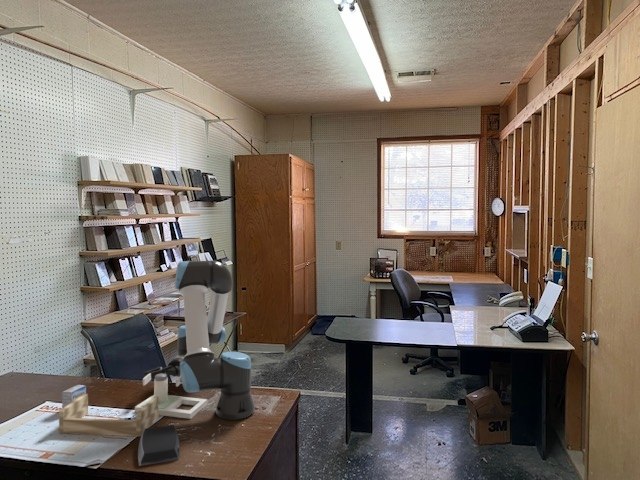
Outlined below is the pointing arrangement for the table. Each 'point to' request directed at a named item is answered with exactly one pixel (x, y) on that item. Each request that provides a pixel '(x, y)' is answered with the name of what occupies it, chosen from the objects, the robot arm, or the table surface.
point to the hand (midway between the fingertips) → (160, 382)
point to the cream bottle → (161, 388)
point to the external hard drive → (158, 445)
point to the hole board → (174, 402)
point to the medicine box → (72, 394)
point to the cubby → (105, 420)
